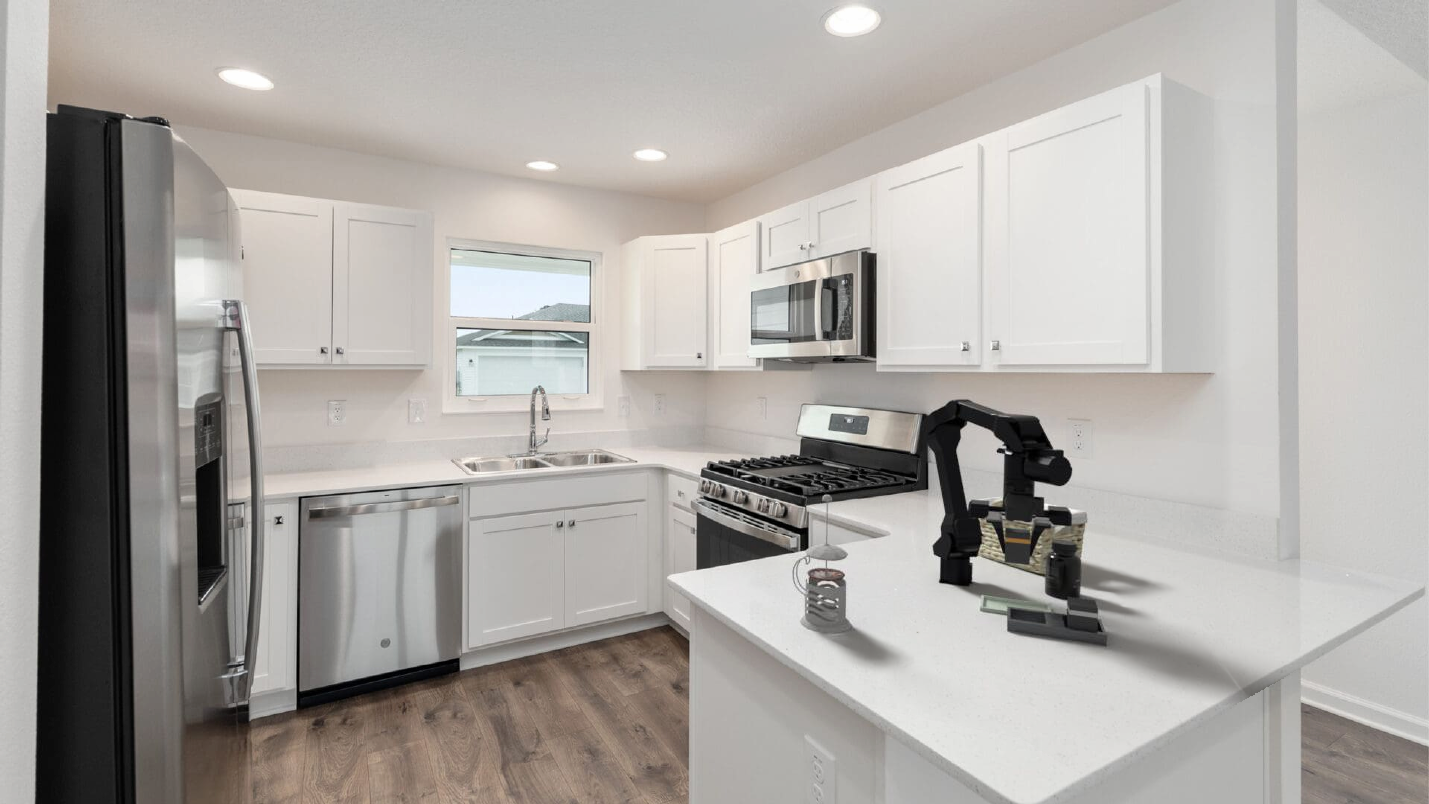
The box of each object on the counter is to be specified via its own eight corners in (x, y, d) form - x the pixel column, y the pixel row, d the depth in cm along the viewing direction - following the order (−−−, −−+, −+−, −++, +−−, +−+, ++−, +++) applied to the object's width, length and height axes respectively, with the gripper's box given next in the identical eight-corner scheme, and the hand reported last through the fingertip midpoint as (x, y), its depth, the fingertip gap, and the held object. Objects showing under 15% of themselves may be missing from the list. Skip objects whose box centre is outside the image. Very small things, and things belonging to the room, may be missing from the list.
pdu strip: (1007, 633, 122) (1007, 620, 122) (1006, 618, 129) (1007, 606, 129) (1106, 648, 115) (1106, 635, 115) (1100, 632, 123) (1100, 619, 122)
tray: (979, 613, 132) (980, 607, 132) (981, 600, 139) (981, 594, 139) (1052, 623, 127) (1052, 617, 127) (1049, 609, 134) (1049, 604, 134)
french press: (840, 637, 120) (842, 501, 118) (782, 623, 126) (784, 495, 125) (858, 619, 128) (860, 493, 127) (803, 608, 134) (805, 487, 133)
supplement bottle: (1085, 603, 138) (1087, 547, 137) (1050, 600, 139) (1051, 545, 139) (1074, 592, 145) (1075, 539, 144) (1040, 590, 146) (1042, 537, 145)
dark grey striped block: (1004, 562, 131) (1005, 532, 131) (1004, 556, 135) (1005, 527, 135) (1029, 565, 129) (1030, 535, 129) (1029, 559, 134) (1029, 529, 133)
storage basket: (965, 553, 176) (966, 498, 175) (1008, 546, 183) (1009, 494, 182) (1043, 579, 154) (1045, 517, 154) (1088, 570, 161) (1090, 511, 160)
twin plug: (1068, 636, 119) (1069, 604, 119) (1066, 627, 123) (1067, 596, 123) (1097, 641, 117) (1098, 608, 117) (1094, 631, 122) (1095, 600, 121)
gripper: (967, 480, 128) (965, 559, 129) (1075, 488, 120) (1073, 571, 121) (970, 472, 138) (968, 545, 139) (1070, 479, 131) (1067, 556, 131)
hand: (1017, 554), depth 132 cm, fingers closed on dark grey striped block, 4 cm apart
